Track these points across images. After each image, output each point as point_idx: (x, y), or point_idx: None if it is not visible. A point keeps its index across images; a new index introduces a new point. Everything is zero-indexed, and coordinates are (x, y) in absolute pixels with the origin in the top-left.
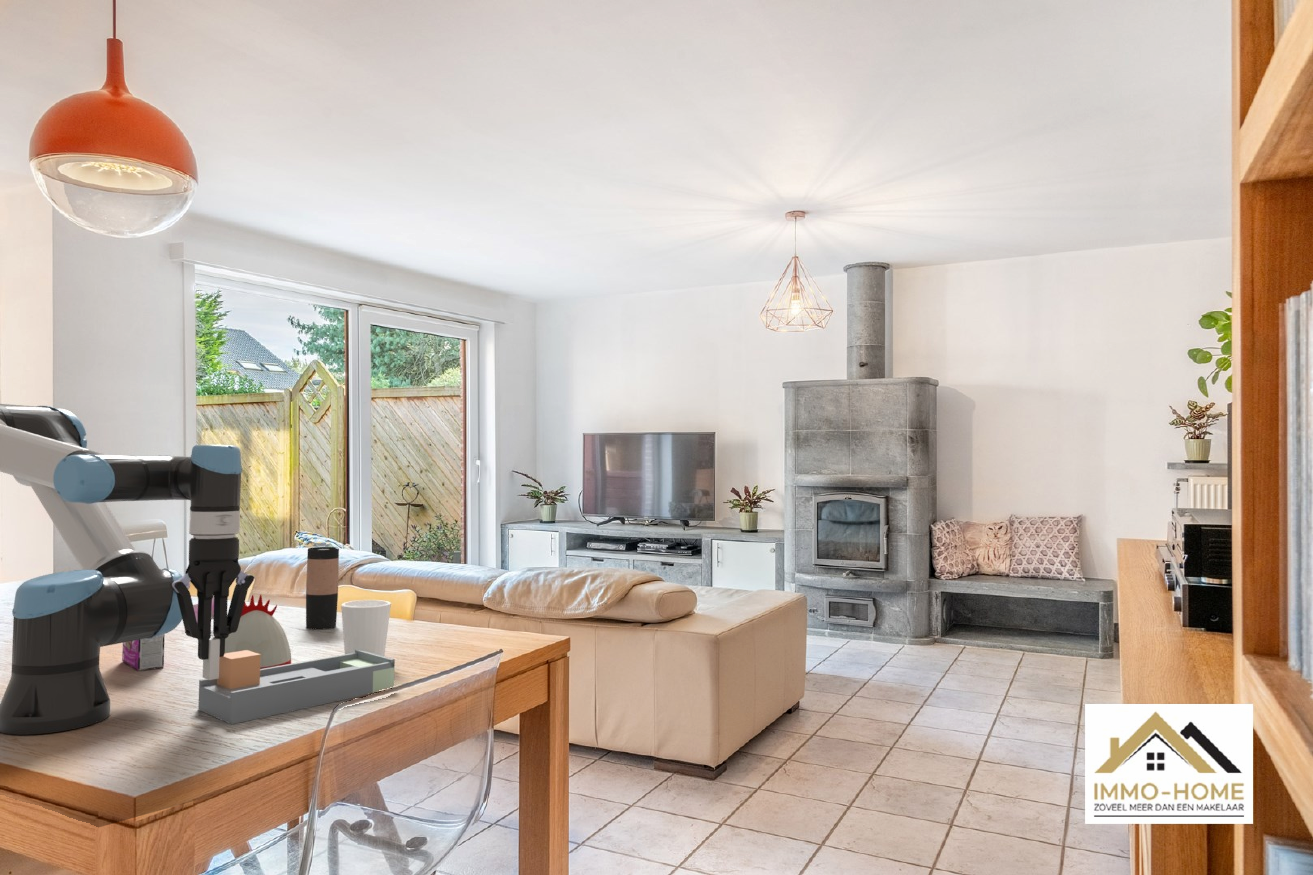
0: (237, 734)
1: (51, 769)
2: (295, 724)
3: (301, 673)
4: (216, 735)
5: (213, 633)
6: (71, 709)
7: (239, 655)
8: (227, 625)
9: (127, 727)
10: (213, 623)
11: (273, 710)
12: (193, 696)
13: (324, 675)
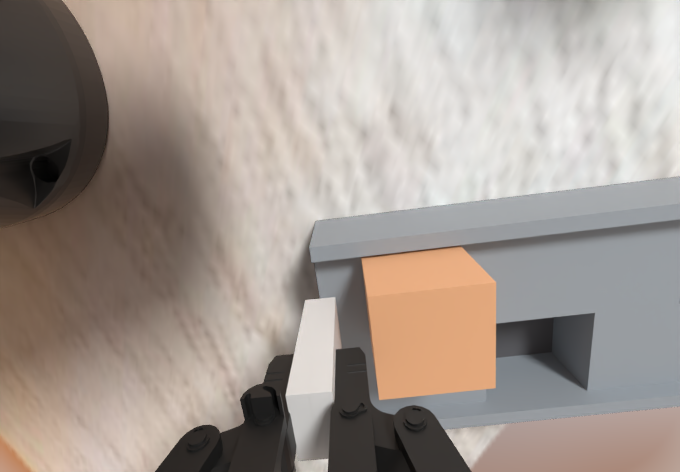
0: None
1: (21, 441)
2: None
3: (614, 281)
4: None
5: (330, 415)
6: None
7: (427, 360)
8: (404, 462)
9: (146, 271)
10: (328, 463)
11: None
12: (344, 55)
13: (611, 412)
